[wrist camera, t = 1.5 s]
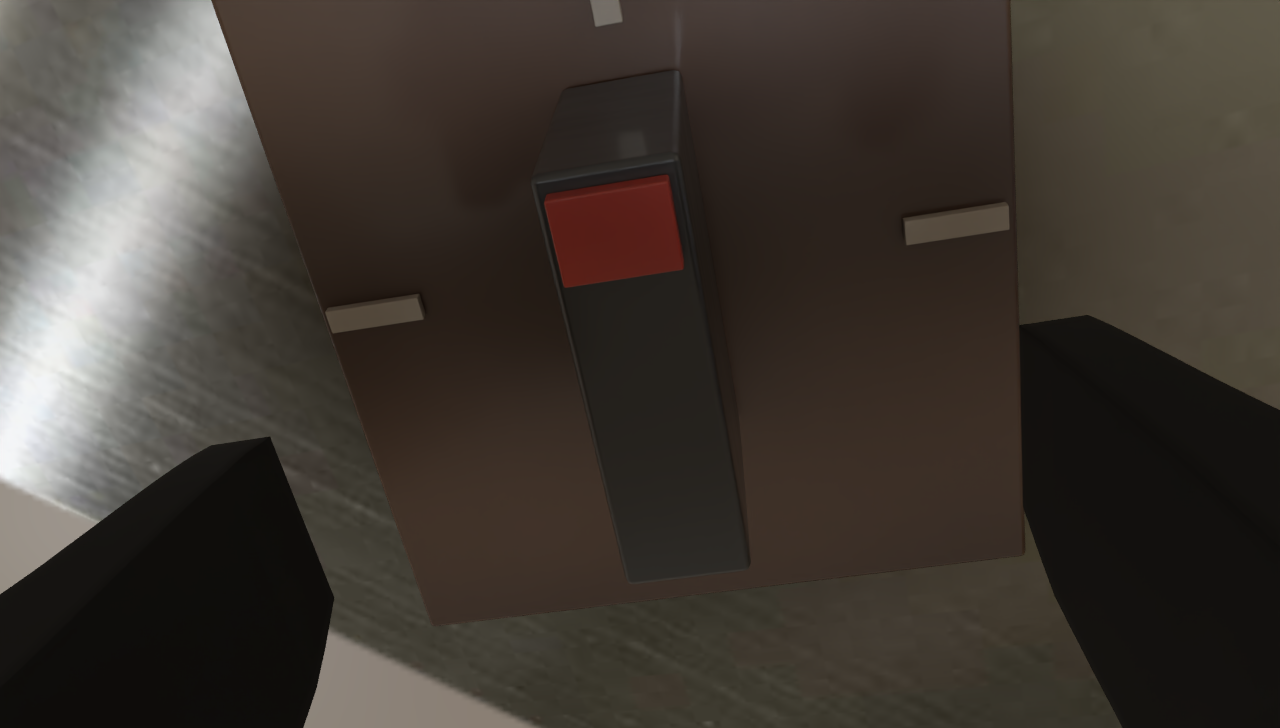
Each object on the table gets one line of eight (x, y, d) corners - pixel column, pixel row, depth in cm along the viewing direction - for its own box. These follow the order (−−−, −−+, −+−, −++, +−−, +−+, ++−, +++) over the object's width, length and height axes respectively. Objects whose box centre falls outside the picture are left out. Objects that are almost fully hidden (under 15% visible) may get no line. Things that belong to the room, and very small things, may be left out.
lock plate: (983, 455, 21) (1029, 563, 18) (461, 523, 22) (428, 635, 19) (949, -282, 15) (1007, -289, 12) (250, -137, 16) (162, -114, 14)
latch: (740, 425, 17) (753, 585, 14) (636, 439, 17) (626, 601, 14) (681, 67, 15) (680, 159, 11) (559, 87, 15) (523, 185, 11)
